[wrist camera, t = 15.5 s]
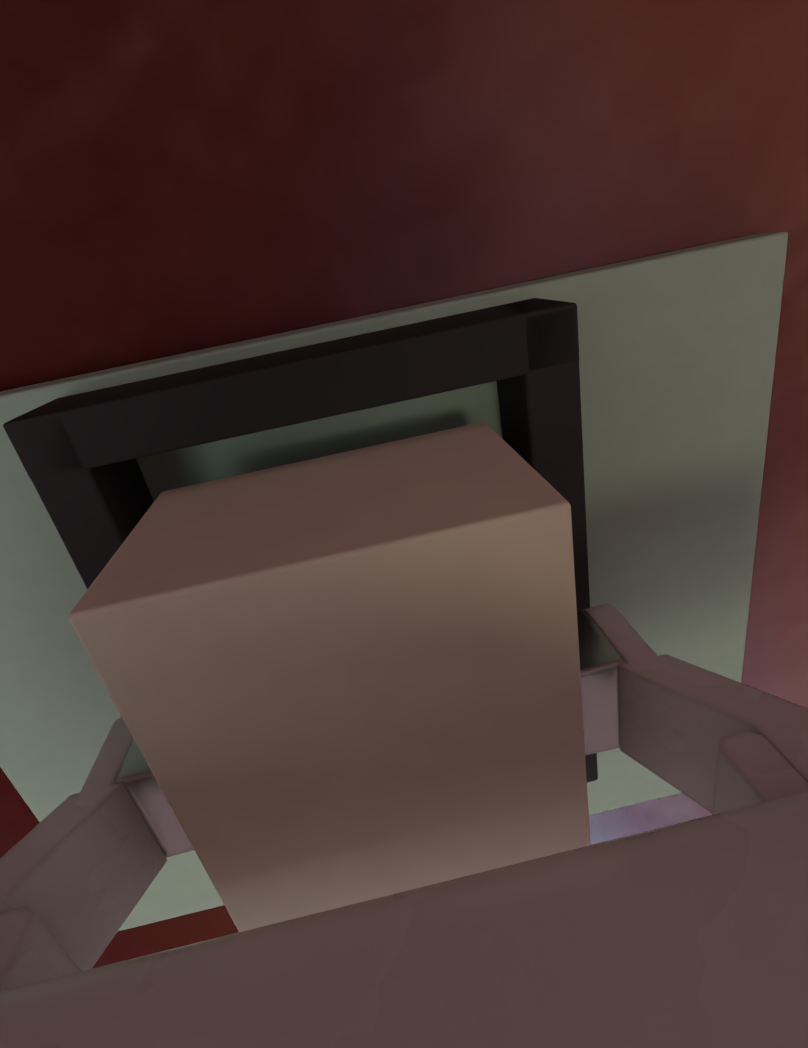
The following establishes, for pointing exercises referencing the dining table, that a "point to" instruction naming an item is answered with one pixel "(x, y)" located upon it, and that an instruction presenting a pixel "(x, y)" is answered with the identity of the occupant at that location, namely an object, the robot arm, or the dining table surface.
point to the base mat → (398, 413)
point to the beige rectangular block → (353, 670)
